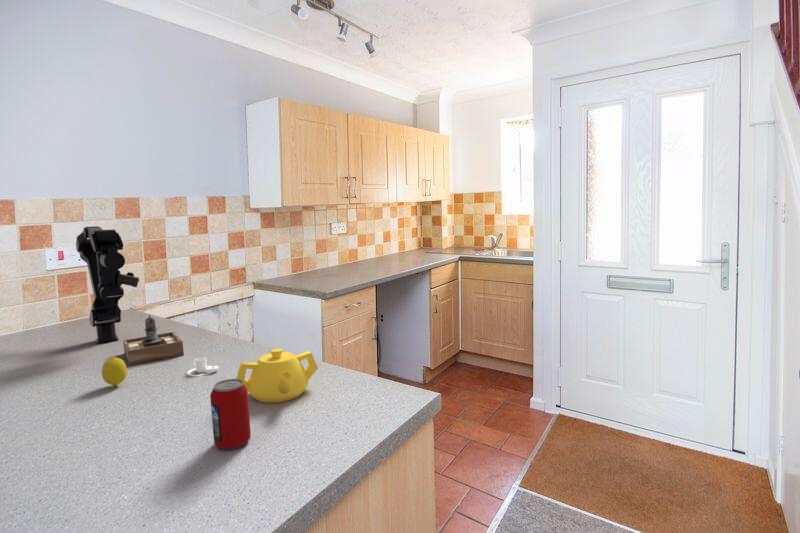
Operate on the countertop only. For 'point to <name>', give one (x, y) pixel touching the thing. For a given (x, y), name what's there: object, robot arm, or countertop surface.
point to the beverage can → (230, 414)
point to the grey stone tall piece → (151, 333)
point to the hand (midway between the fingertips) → (113, 313)
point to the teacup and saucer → (202, 367)
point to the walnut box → (153, 349)
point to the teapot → (277, 375)
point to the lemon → (114, 371)
